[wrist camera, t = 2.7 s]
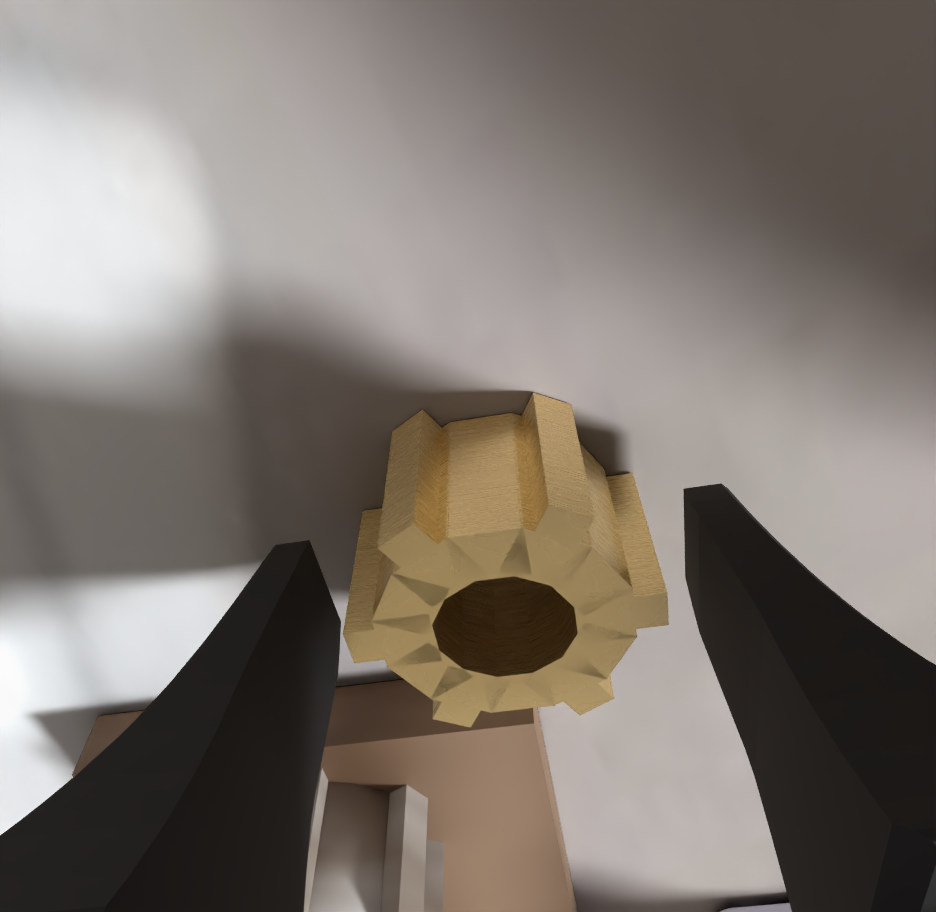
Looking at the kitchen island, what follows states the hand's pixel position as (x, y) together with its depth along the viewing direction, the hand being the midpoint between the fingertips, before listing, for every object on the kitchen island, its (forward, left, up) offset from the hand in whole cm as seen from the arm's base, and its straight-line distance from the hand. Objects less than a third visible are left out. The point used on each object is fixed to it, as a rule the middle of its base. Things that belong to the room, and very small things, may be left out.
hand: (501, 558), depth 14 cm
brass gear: (0, 0, -1) cm, 1 cm away
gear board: (+5, +13, -1) cm, 14 cm away
